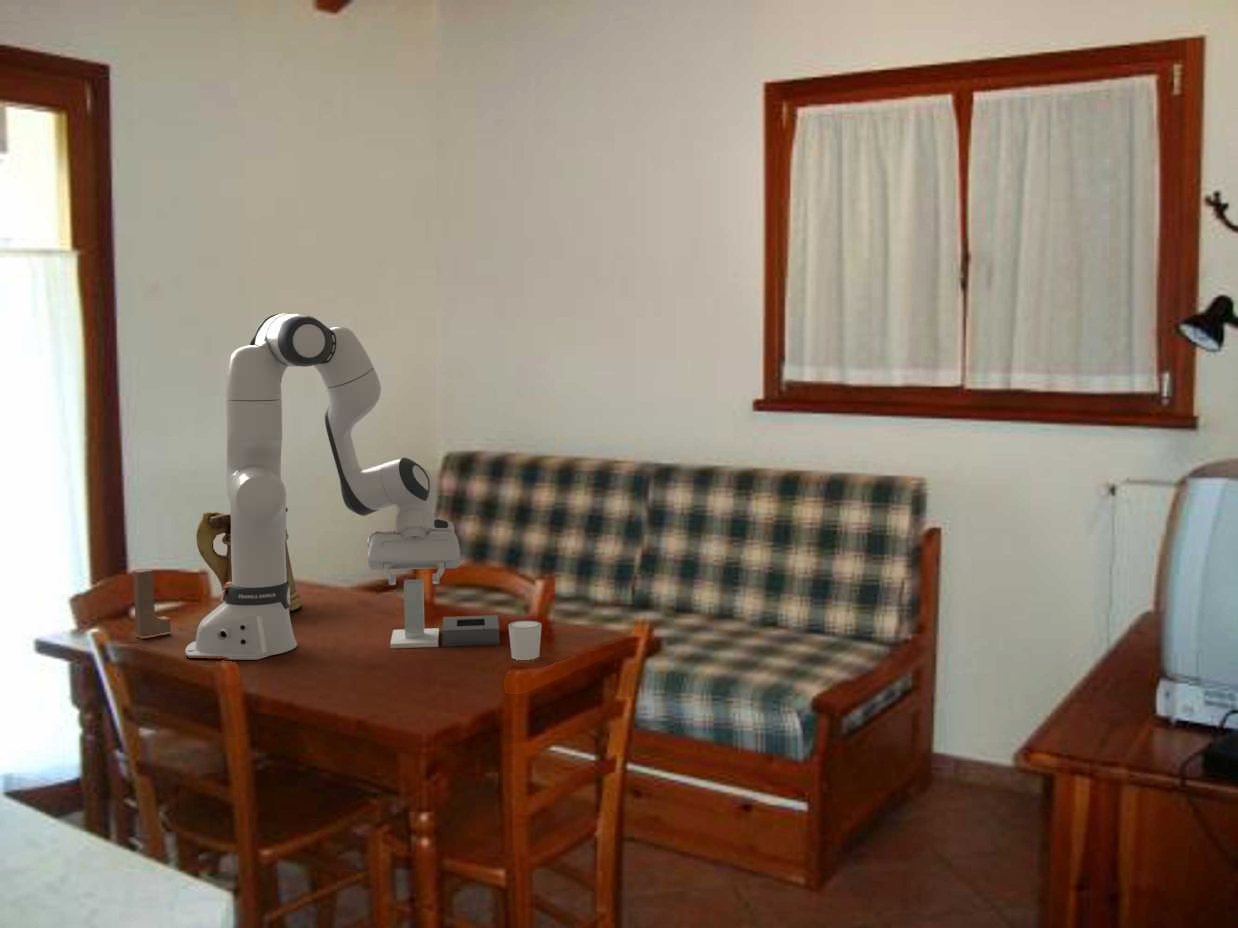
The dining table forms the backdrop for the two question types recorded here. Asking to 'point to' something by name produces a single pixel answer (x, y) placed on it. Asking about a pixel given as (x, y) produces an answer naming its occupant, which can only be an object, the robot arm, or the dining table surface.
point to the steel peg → (414, 608)
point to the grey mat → (415, 639)
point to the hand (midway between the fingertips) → (414, 583)
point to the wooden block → (147, 605)
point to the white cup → (525, 639)
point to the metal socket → (470, 630)
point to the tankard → (221, 564)
